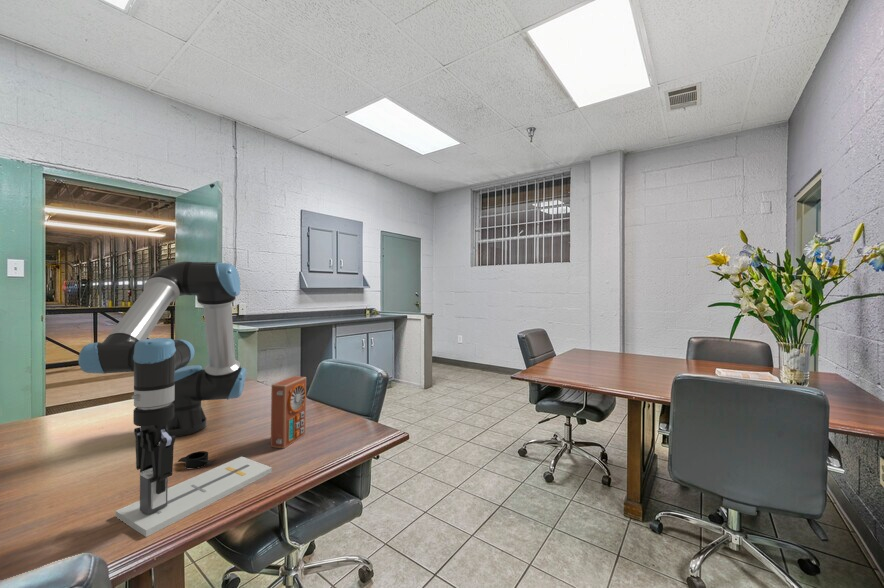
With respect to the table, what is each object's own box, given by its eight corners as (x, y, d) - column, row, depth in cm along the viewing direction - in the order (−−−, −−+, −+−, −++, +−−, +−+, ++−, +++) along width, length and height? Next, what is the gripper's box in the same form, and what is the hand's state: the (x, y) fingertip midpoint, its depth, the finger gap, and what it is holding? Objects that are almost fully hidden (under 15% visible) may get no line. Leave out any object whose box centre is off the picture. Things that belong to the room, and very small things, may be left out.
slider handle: (139, 510, 83) (139, 472, 83) (159, 501, 87) (160, 464, 87) (147, 515, 82) (147, 476, 81) (167, 505, 85) (167, 468, 85)
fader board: (115, 517, 83) (115, 510, 83) (241, 461, 111) (241, 455, 111) (146, 537, 77) (146, 529, 77) (271, 472, 105) (271, 467, 105)
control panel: (309, 432, 133) (283, 450, 119) (292, 431, 135) (265, 448, 120) (310, 376, 133) (284, 386, 118) (293, 374, 134) (266, 385, 120)
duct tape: (188, 475, 103) (188, 465, 103) (176, 464, 109) (176, 455, 109) (217, 465, 109) (217, 455, 109) (204, 455, 115) (204, 446, 115)
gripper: (117, 403, 84) (117, 500, 85) (154, 416, 77) (153, 523, 77) (154, 395, 91) (154, 485, 91) (191, 406, 83) (190, 504, 84)
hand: (153, 502), depth 84 cm, fingers closed on slider handle, 3 cm apart
